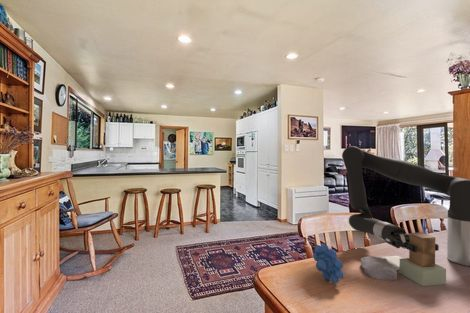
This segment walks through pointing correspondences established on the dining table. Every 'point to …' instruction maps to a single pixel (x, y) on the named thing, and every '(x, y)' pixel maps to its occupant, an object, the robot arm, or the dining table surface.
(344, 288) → the dining table surface
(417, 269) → the green stand
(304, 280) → the dining table surface
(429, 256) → the walnut block
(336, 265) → the grapes
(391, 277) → the stone block
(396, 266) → the cream flat slab
